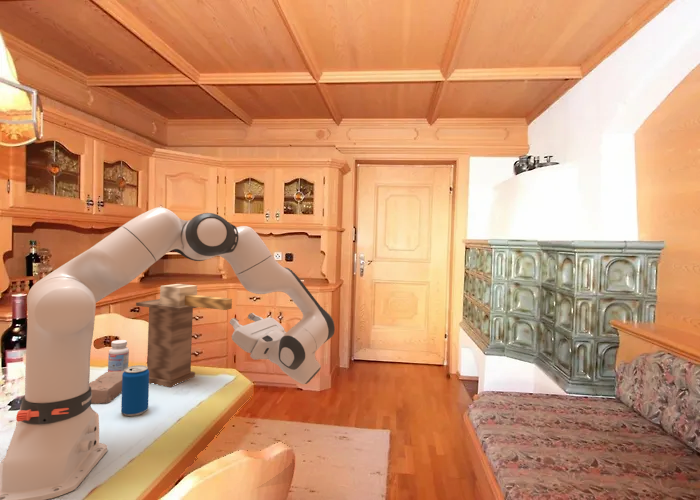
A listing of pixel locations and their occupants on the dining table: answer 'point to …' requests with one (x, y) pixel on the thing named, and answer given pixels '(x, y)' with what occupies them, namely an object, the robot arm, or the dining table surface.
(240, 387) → the dining table surface
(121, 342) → the pill bottle
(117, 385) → the brick
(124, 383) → the beverage can
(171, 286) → the beech mallet
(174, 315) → the walnut shelf post
